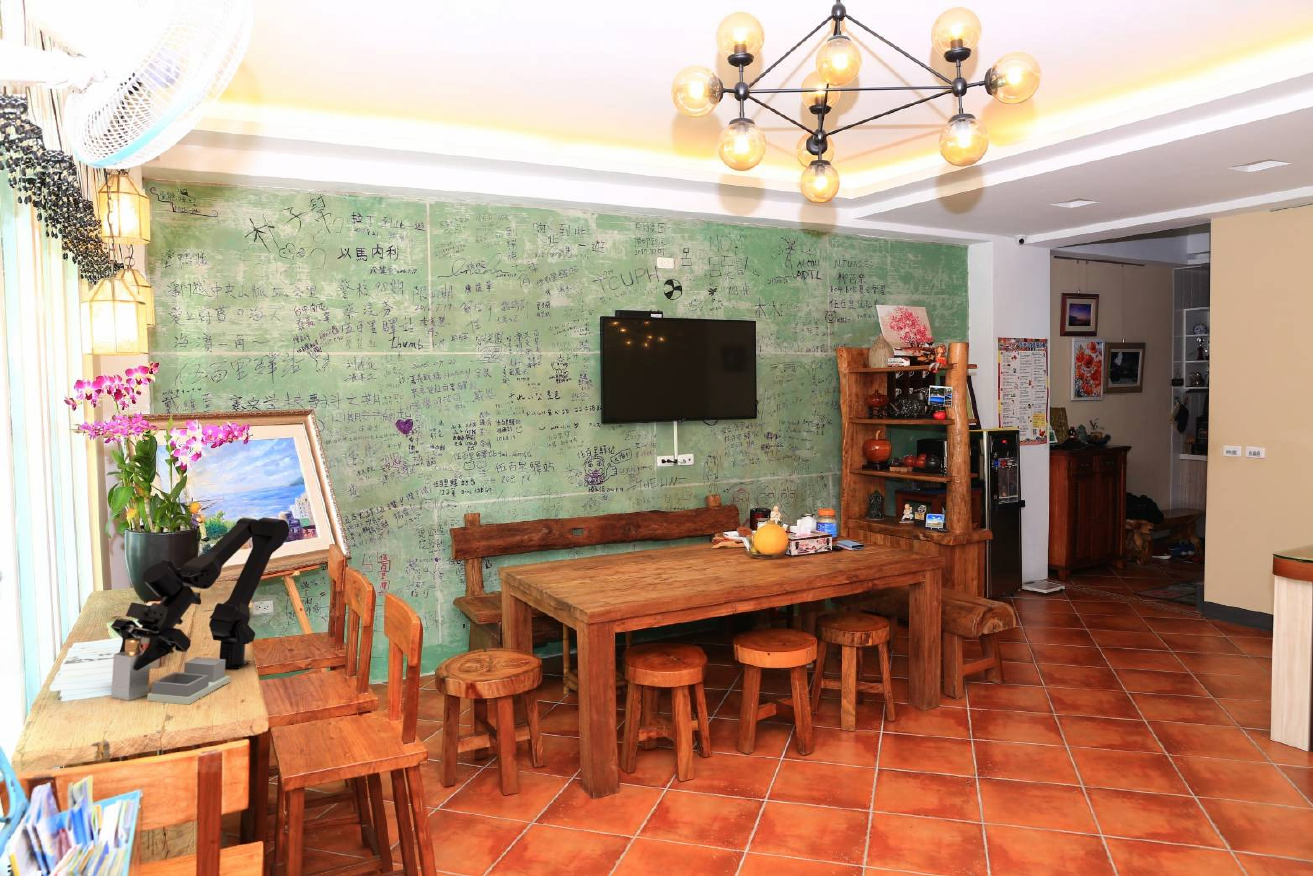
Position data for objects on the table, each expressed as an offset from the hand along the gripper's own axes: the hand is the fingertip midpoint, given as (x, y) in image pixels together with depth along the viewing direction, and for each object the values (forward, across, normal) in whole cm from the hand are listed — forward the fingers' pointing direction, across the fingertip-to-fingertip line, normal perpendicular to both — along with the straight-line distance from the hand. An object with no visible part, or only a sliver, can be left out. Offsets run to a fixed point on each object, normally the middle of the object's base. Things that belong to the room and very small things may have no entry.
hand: (126, 667), depth 195 cm
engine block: (+4, 0, +6) cm, 7 cm away
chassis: (-3, +8, +12) cm, 15 cm away
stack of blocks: (-13, -21, +23) cm, 34 cm away
